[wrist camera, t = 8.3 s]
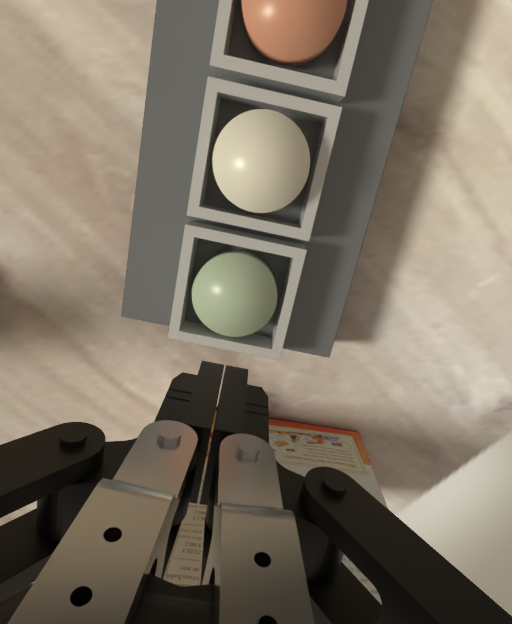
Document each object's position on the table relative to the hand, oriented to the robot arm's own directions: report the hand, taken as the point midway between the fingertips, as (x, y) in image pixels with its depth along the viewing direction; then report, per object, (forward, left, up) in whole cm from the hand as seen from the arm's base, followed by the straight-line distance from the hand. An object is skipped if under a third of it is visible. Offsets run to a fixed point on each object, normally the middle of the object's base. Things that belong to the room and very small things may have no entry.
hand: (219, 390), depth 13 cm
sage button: (0, 0, -13) cm, 13 cm away
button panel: (-7, 0, -17) cm, 18 cm away
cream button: (-7, 0, -12) cm, 14 cm away
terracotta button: (-15, 0, -13) cm, 20 cm away
